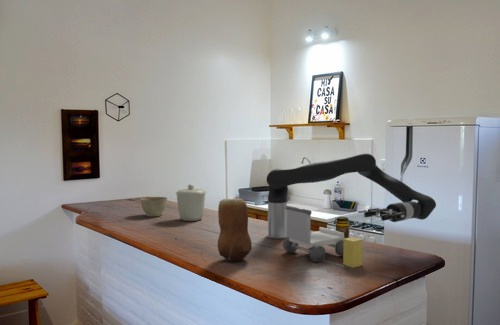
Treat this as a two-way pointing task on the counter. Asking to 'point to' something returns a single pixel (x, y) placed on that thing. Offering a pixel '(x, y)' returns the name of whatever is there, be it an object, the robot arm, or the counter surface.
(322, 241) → the trolley
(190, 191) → the canister
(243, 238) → the butternut squash
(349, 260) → the yellow rectangular block
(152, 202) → the planter bowl
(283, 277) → the counter surface
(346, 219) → the condiment
